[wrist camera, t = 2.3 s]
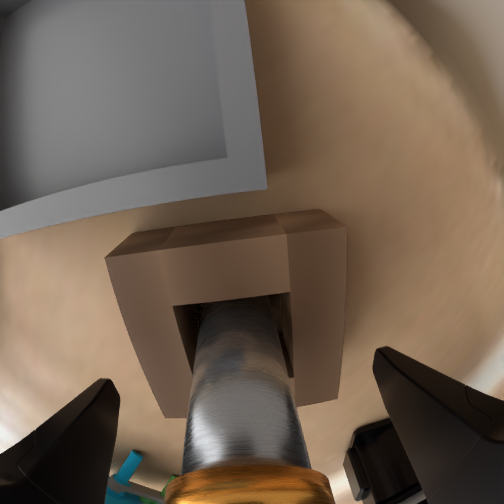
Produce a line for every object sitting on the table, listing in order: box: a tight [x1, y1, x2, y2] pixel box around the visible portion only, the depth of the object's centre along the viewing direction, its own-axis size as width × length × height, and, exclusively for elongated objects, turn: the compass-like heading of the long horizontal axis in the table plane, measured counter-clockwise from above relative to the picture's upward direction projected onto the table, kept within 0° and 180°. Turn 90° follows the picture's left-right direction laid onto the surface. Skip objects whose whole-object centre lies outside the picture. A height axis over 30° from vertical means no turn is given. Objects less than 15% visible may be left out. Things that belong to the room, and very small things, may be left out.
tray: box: [0, 0, 268, 239], centre depth 7 cm, size 13×13×4 cm
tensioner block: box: [105, 209, 347, 418], centre depth 12 cm, size 8×8×3 cm
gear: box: [105, 451, 177, 504], centre depth 15 cm, size 11×6×10 cm
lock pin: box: [164, 295, 335, 504], centre depth 8 cm, size 4×4×10 cm
